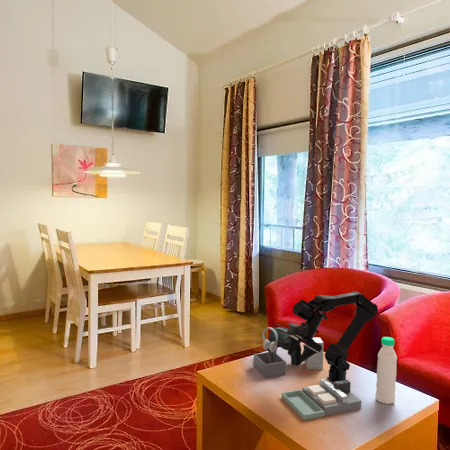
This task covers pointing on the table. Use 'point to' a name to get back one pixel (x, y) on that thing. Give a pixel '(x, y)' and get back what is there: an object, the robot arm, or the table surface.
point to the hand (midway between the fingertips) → (294, 358)
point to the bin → (303, 405)
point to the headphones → (267, 343)
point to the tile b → (326, 398)
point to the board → (337, 406)
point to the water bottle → (386, 372)
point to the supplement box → (315, 357)
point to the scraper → (337, 389)
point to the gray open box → (266, 369)
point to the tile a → (316, 389)
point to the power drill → (285, 343)
